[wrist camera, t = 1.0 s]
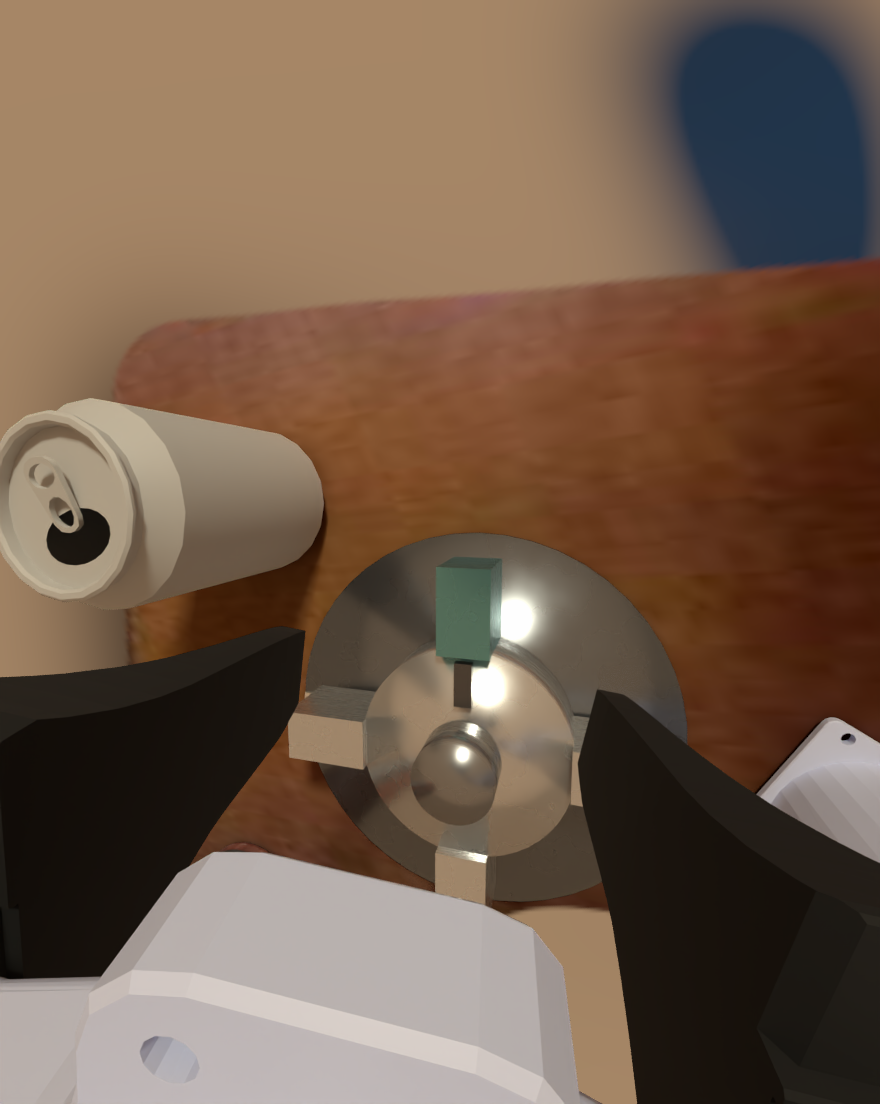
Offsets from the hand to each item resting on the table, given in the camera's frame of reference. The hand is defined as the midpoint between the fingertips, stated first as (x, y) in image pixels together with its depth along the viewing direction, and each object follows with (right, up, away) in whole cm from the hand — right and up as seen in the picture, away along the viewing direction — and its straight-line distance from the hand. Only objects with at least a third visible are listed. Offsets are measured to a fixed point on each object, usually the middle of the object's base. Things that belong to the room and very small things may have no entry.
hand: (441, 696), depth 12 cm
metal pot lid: (+2, -5, +14) cm, 15 cm away
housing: (+2, -5, +14) cm, 15 cm away
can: (-9, +6, +16) cm, 19 cm away
